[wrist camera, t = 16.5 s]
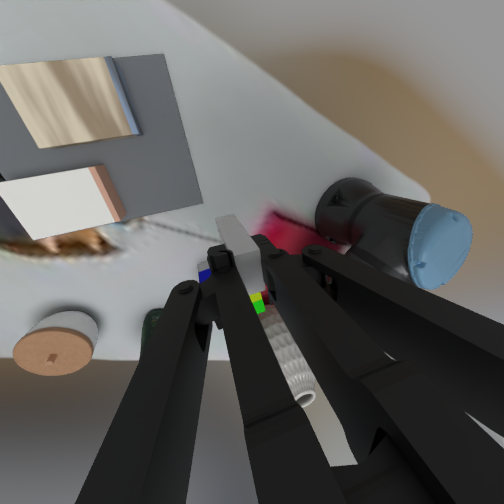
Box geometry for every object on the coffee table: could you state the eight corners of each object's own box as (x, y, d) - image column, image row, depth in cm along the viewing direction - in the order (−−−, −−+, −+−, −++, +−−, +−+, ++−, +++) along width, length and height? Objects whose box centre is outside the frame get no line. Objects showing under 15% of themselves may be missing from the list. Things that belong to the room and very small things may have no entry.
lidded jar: (43, 296, 38) (5, 336, 30) (110, 305, 43) (93, 342, 35) (38, 339, 41) (2, 385, 33) (101, 343, 46) (83, 385, 38)
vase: (221, 321, 53) (242, 419, 34) (268, 279, 51) (317, 357, 32) (259, 344, 61) (294, 434, 42) (301, 309, 59) (356, 385, 40)
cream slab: (94, 166, 28) (-9, 183, 26) (120, 220, 32) (33, 240, 30) (104, 164, 32) (14, 179, 30) (126, 213, 36) (48, 230, 34)
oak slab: (110, 56, 24) (-9, 66, 22) (138, 133, 28) (39, 148, 26) (119, 67, 28) (17, 77, 26) (143, 135, 32) (56, 148, 30)
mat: (163, 54, 29) (163, 53, 28) (202, 202, 39) (203, 203, 39) (-65, 74, 24) (-69, 73, 24) (47, 236, 34) (45, 237, 34)
